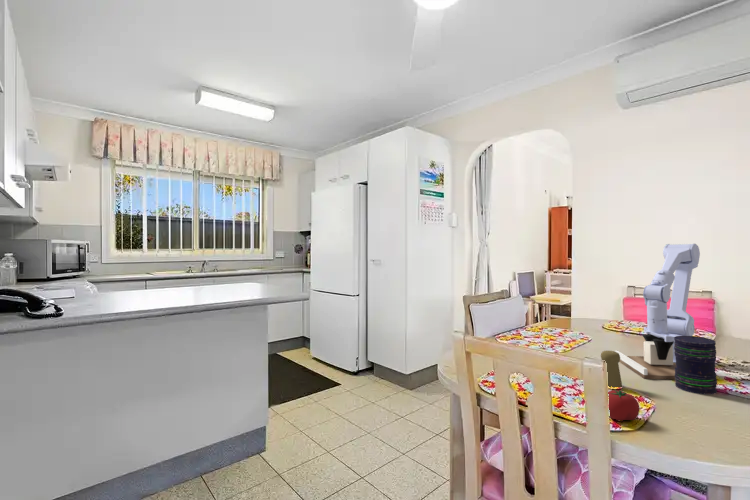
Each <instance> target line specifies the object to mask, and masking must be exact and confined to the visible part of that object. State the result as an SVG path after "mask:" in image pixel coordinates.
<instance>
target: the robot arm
mask: <svg viewBox="0 0 750 500" xmlns="http://www.w3.org/2000/svg"><path fill="white" fill-rule="evenodd" d="M662 255H663V257H664V262H663V264H662V267H661V269H660V270H657V271H656V272H655V274H654V276H653V278H652V280H651V282H650V284H648V285H645V287H644V288H643V293H642V296H643V299H644V305H645V306H646V319H647V321H646V322H647V323H646V325H647V326H644V327H643V333H644V334H643V335H642V337H643V339H644V341H653V342H654V344H655V346H656V349H657V356H658V359H659V360H666V358H667V355H668V352H669V349H670V347H671V346H672V345H673V363H675V364H676V356H675V353H674V352H675V350H674V342H675V340H674V337H676V336H694V333H695V319H694V317H693V316H692V315H691V314H690V313H689V312H687V306H688V300H689V293H690V292H689V291H690V286H691V279H692V278H691V277H692V274H693V271H694V269H696V268H698V266H699V262H700V256H701V253H700V247H699V245H698V244H696V243H684V244H683V243H682V244H680V243H679V244H678V243H677V244H676V243H675V244H674V243H673V244H672V243H667V244H665V246H664V247H663V249H662ZM672 285H673V286H672ZM671 287H672V290H671ZM669 301H670V302H669ZM668 302H669V303H670V304H669V309H668Z"/></svg>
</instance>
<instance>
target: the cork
mask: <svg viewBox="0 0 750 500" xmlns="http://www.w3.org/2000/svg"><path fill="white" fill-rule="evenodd" d="M615 351H616V350H603V351H602V352H600V353H601V354H600V359H601V361H602V360H605V361H606V363H607V372H608V386H609V387H611V386H612V387H623V382H622V378H621V371H620V366H619V363H620V362H619V361H620V355H619V353H617V352H615Z"/></svg>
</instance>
